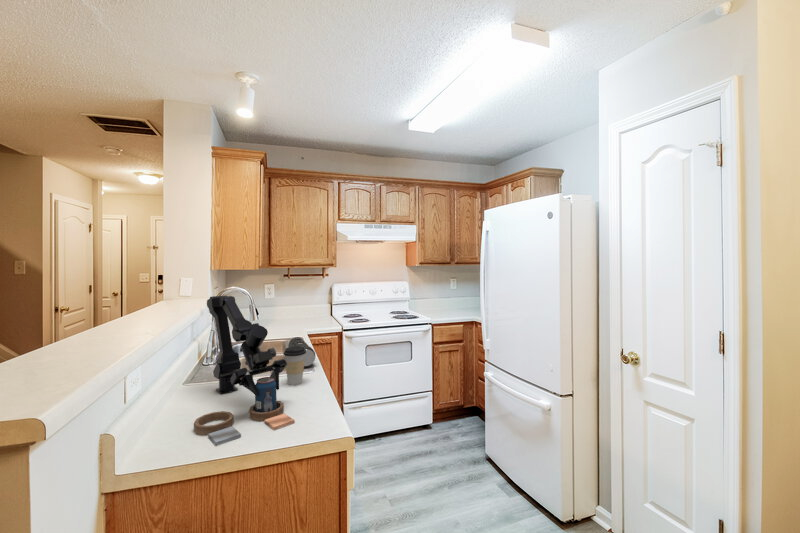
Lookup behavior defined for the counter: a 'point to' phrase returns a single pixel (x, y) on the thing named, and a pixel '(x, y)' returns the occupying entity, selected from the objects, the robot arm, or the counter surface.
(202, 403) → the counter surface
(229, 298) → the robot arm
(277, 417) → the terracotta tag ring
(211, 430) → the grey tag ring
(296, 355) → the coffee cup
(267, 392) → the soda can
